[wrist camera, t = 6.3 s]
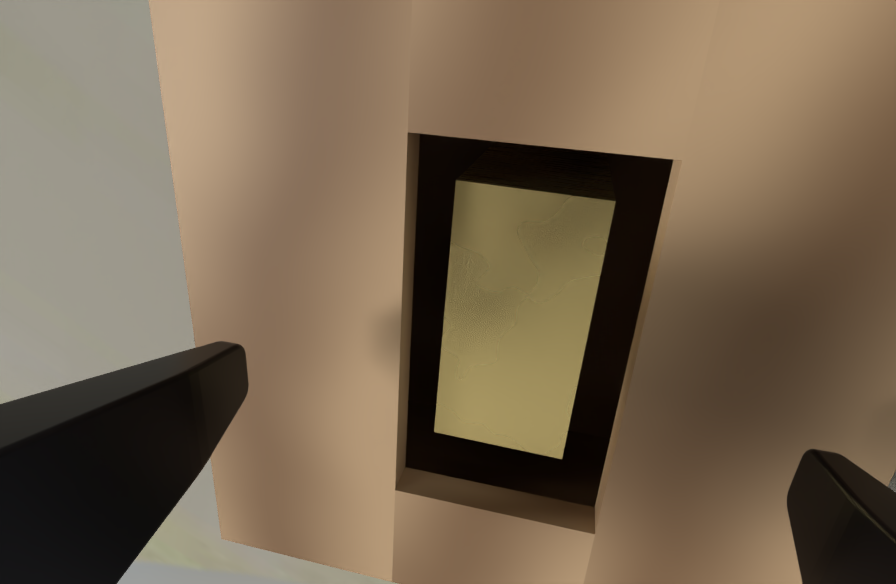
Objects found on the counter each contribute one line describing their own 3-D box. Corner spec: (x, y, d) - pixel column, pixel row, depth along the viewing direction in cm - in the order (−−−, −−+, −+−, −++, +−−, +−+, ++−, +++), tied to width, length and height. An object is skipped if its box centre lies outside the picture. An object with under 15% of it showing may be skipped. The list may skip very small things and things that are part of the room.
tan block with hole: (881, -1, 13) (1153, -48, 7) (722, 470, 19) (789, 682, 12) (319, -30, 16) (137, -84, 9) (329, 394, 21) (221, 539, 15)
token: (606, 152, 15) (615, 201, 10) (569, 345, 18) (562, 459, 13) (497, 139, 16) (456, 180, 11) (475, 328, 18) (434, 431, 13)
